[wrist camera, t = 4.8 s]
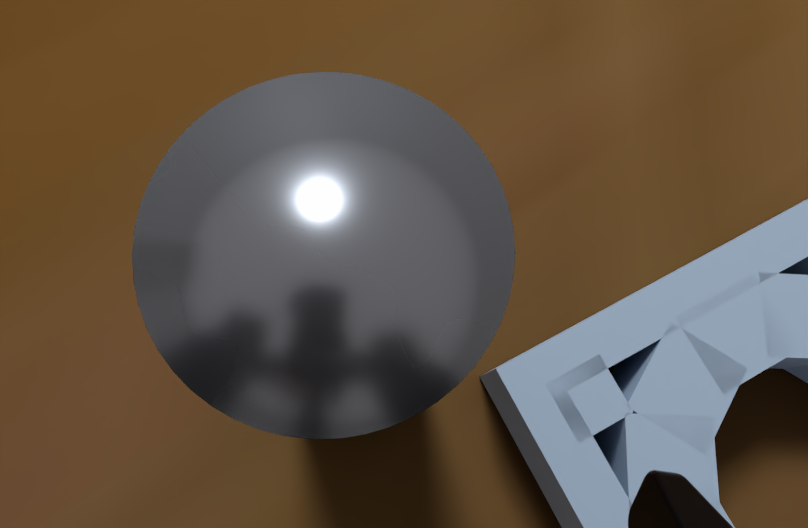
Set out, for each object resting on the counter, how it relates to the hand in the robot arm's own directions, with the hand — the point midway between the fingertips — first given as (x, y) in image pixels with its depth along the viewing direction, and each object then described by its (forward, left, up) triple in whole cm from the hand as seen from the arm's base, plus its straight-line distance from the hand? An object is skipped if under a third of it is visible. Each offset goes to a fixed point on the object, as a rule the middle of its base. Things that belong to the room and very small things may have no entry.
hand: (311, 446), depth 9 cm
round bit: (+2, -1, -9) cm, 10 cm away
